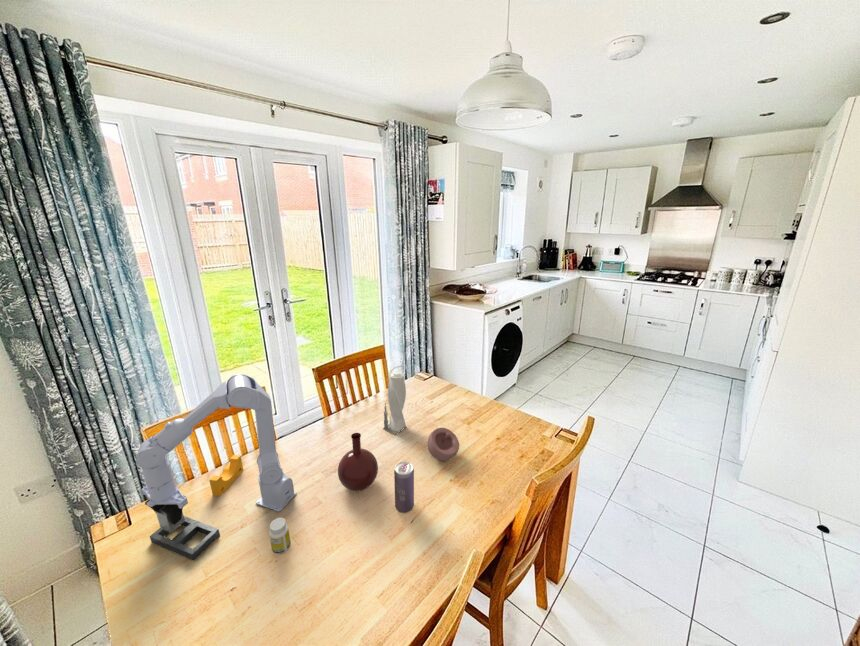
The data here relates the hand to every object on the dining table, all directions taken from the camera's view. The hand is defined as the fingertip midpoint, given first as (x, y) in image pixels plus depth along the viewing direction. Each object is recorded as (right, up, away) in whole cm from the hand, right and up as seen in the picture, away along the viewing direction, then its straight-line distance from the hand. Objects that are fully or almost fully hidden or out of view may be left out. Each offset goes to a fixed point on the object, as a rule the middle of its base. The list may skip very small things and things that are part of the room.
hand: (171, 519), depth 97 cm
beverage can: (+65, -3, +13) cm, 66 cm away
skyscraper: (+59, +10, +52) cm, 79 cm away
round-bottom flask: (+49, 0, +21) cm, 53 cm away
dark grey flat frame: (+4, -6, +1) cm, 7 cm away
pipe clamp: (+3, 0, +21) cm, 22 cm away
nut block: (0, -2, +1) cm, 2 cm away
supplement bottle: (+32, -7, -1) cm, 32 cm away
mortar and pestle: (+78, +4, +34) cm, 85 cm away
